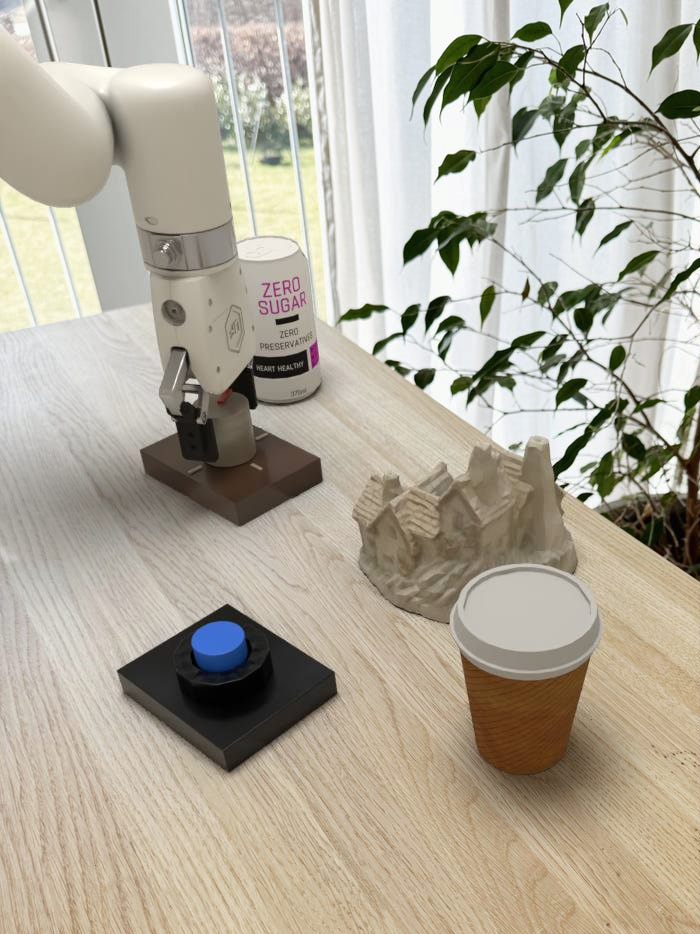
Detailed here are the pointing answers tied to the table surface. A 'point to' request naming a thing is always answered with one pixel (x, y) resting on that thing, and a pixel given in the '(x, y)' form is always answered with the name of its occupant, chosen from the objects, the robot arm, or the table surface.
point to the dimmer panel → (236, 476)
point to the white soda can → (281, 318)
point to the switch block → (229, 690)
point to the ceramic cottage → (461, 526)
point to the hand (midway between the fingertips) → (222, 432)
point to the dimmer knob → (231, 428)
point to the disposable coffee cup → (524, 660)
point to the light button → (219, 646)
